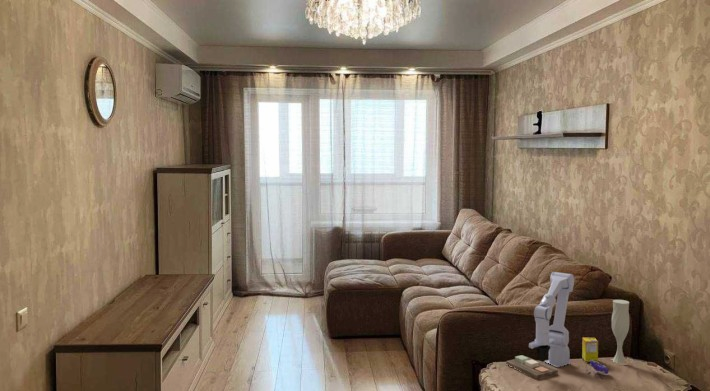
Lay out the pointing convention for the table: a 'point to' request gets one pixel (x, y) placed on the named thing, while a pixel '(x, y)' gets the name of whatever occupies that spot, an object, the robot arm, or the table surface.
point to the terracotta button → (541, 369)
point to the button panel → (533, 369)
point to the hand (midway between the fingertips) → (542, 360)
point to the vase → (620, 326)
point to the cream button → (531, 363)
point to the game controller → (598, 367)
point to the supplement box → (589, 349)
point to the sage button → (521, 359)
